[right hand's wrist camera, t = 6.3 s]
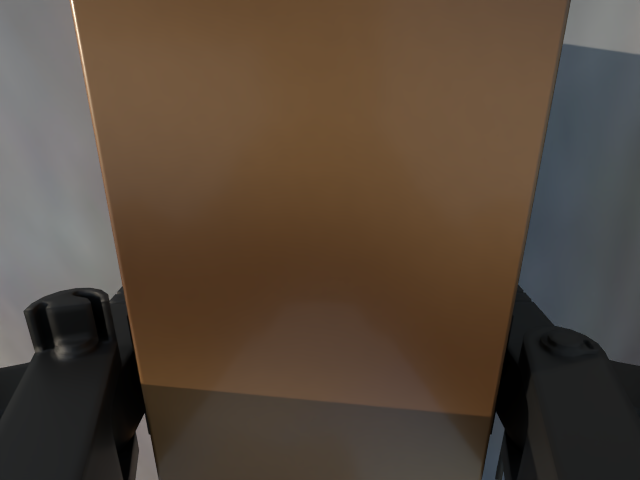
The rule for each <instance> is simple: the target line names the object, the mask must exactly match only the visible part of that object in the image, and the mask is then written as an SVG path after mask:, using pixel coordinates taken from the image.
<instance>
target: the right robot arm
mask: <svg viewBox="0 0 640 480" xmlns="http://www.w3.org/2000/svg"><path fill="white" fill-rule="evenodd" d="M24 315H25V318H26V322H27V325H28V329H29V332H30V336H31V339H32V343H33V346H34V350H35V354H34V356H33V358H32V360H31V362H29V363H25V364H20V365H15V366H9V367H4V368H0V480H135V478H136V470H137V462H138V454H139V447H138V441H137V436H136V429H137V427H138V425H139V423H140V421H141V419H142V417H143V415H144V413H145V417H146V422H147V428H148V433H149V434H150V430H149V425H148V419H147V414H146V408H145V403H144V398H143V392H142V387H141V382H140V376H139V371H138V365H137V360H136V355H135V349H134V344H133V338H132V333H131V328H130V322H129V317H128V312H127V306H126V301H125V295H124V290H123V286H122V287H121V289H120V290H119V291H118V292H117V294H115V295H114V297H113V298H112V299H111V300H110V301H109V297H108V294H107V293H105V292H104V291H102V290H99V289H94V288H75V289H69V290H64V291H59V292H56V293H53V294H51V295H48V296H45V297H43V298H41V299H39V300H37V301H35V302H34V303H32V304H31V305H30V306H29V307H27V308H26V309H25V310H24ZM496 412H497V414H498V416H499V418H500V420H501V422H502V424H503V426H504V428H505V431H504V436H503V441H502V446H501V451H500V456H499V461H498V466H497V471H496V477H495V479H496V480H502V475H503V471H504V477H505V480H640V366H636V365H631V364H626V363H620V362H616V361H611V360H609V359H608V357H607V355H606V353H605V351H604V350H603V349H602V348H601V347H600V346H599V344H598V343H596V342H595V341H593V340H592V339H590V338H589V337H587V336H585V335H583V334H581V333H578V332H576V331H573V330H571V329H566V328H562V327H557V326H554V325H553V324H552V323H551V321H550V320H549V319H548V318H547V317H546V316H545V315H544V313H543V312H542V311H541V310H540V309H539V308H538V307H537V306H536V304H535V303H534V302H531V299H530V298H529V296H528V295H527V294H526V293H523V290H522V289H521V287H520V286H519V285H518V287H517V292H516V298H515V303H514V308H513V314H512V319H511V324H510V330H509V335H508V341H507V346H506V351H505V357H504V362H503V367H502V373H501V378H500V384H499V389H498V394H497V400H496V405H495V410H494V416H493V421H492V427H491V432H490V434H492V429H493V424H494V418H495V413H496Z"/></svg>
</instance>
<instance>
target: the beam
mask: <svg viewBox="0 0 640 480" xmlns="http://www.w3.org/2000/svg"><path fill="white" fill-rule="evenodd" d="M570 2H571V0H70V5H71V10H72V16H73V21H74V26H75V32H76V37H77V42H78V48H79V53H80V59H81V64H82V69H83V75H84V80H85V86H86V91H87V96H88V102H89V107H90V112H91V118H92V123H93V129H94V134H95V139H96V145H97V150H98V156H99V161H100V166H101V172H102V177H103V182H104V188H105V193H106V199H107V204H108V209H109V215H110V220H111V225H112V231H113V236H114V242H115V247H116V252H117V258H118V263H119V269H120V274H121V279H122V285H123V290H124V295H125V301H126V306H127V312H128V317H129V322H130V328H131V333H132V338H133V344H134V349H135V355H136V360H137V365H138V371H139V376H140V382H141V387H142V392H143V398H144V403H145V408H146V414H147V419H148V425H149V430H150V435H151V441H152V446H153V452H154V457H155V462H156V468H157V473H158V478H159V480H482V475H483V470H484V464H485V459H486V454H487V448H488V443H489V437H490V432H491V427H492V421H493V416H494V410H495V405H496V400H497V394H498V389H499V384H500V378H501V373H502V367H503V362H504V357H505V351H506V346H507V341H508V335H509V330H510V324H511V319H512V314H513V308H514V303H515V298H516V292H517V287H518V281H519V276H520V271H521V265H522V260H523V254H524V249H525V244H526V238H527V233H528V228H529V222H530V217H531V211H532V206H533V201H534V195H535V190H536V185H537V179H538V174H539V168H540V163H541V158H542V152H543V147H544V142H545V136H546V131H547V125H548V120H549V115H550V109H551V104H552V99H553V93H554V88H555V82H556V77H557V72H558V66H559V61H560V55H561V50H562V45H563V39H564V34H565V29H566V23H567V18H568V12H569V7H570Z"/></svg>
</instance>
